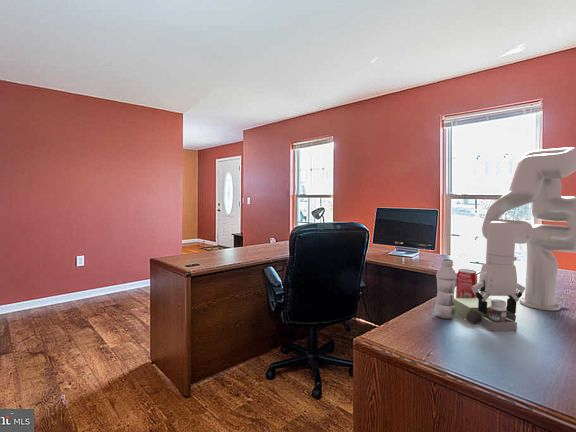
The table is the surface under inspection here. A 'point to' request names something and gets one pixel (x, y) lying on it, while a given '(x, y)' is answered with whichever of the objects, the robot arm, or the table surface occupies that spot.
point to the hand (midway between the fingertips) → (496, 312)
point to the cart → (482, 315)
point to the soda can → (465, 283)
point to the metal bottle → (445, 290)
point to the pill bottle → (497, 311)
